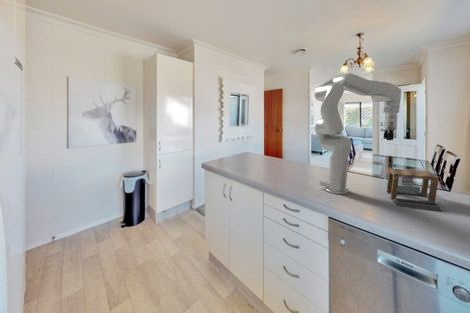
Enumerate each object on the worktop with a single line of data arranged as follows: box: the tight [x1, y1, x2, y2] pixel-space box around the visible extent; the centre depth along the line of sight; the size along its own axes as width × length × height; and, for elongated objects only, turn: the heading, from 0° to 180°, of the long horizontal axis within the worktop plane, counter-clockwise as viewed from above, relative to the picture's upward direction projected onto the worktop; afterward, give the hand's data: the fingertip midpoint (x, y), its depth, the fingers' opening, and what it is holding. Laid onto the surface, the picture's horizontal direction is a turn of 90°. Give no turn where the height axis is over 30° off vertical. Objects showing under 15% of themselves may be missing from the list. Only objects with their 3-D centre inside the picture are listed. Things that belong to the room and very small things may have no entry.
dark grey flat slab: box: [393, 197, 442, 212], centre depth 101 cm, size 16×6×2 cm, turn 64°
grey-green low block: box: [383, 178, 421, 195], centre depth 128 cm, size 12×25×7 cm, turn 154°
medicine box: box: [398, 177, 415, 186], centre depth 121 cm, size 8×4×9 cm, turn 101°
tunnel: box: [386, 167, 440, 203], centre depth 110 cm, size 17×13×14 cm
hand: (388, 139), depth 129 cm, fingers open, 9 cm apart
